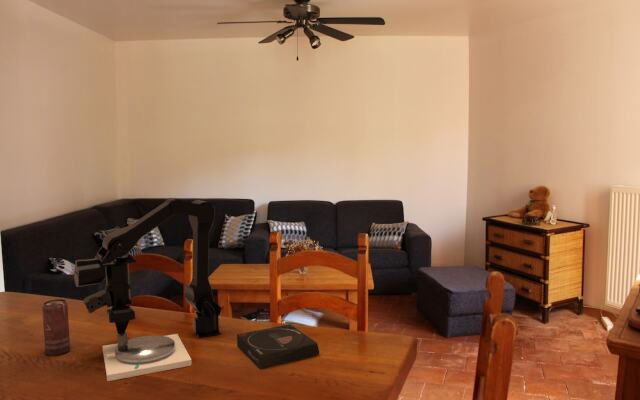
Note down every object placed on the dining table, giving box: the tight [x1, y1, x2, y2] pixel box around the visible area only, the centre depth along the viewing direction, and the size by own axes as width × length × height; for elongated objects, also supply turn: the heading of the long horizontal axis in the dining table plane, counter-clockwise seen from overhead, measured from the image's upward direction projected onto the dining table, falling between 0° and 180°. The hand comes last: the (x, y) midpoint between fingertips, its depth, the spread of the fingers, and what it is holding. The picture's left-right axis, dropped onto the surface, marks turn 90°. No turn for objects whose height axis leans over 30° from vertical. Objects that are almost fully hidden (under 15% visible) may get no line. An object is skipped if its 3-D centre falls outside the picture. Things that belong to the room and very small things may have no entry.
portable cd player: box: [236, 324, 320, 370], centre depth 141 cm, size 16×17×4 cm
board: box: [102, 333, 193, 382], centre depth 136 cm, size 20×20×2 cm
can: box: [41, 298, 71, 357], centre depth 140 cm, size 6×6×14 cm
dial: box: [106, 331, 175, 364], centre depth 136 cm, size 17×15×6 cm
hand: (120, 336), depth 139 cm, fingers closed
